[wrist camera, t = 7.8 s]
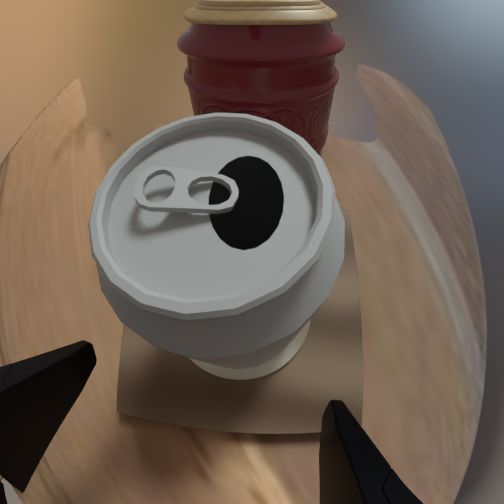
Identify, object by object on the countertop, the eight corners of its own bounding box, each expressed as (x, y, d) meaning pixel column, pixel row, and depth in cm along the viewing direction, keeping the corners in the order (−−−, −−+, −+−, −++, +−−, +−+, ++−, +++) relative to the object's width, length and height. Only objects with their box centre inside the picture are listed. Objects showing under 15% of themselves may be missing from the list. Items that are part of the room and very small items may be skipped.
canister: (281, 206, 22) (298, -25, 6) (173, 149, 26) (129, -11, 10) (343, 131, 27) (374, -17, 11) (248, 93, 30) (242, -33, 14)
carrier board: (355, 424, 14) (369, 431, 12) (124, 410, 15) (105, 413, 13) (343, 213, 22) (352, 193, 19) (155, 210, 22) (144, 191, 20)
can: (299, 370, 15) (390, 348, 4) (176, 365, 15) (34, 325, 4) (296, 256, 18) (334, 99, 8) (187, 255, 19) (117, 110, 8)
